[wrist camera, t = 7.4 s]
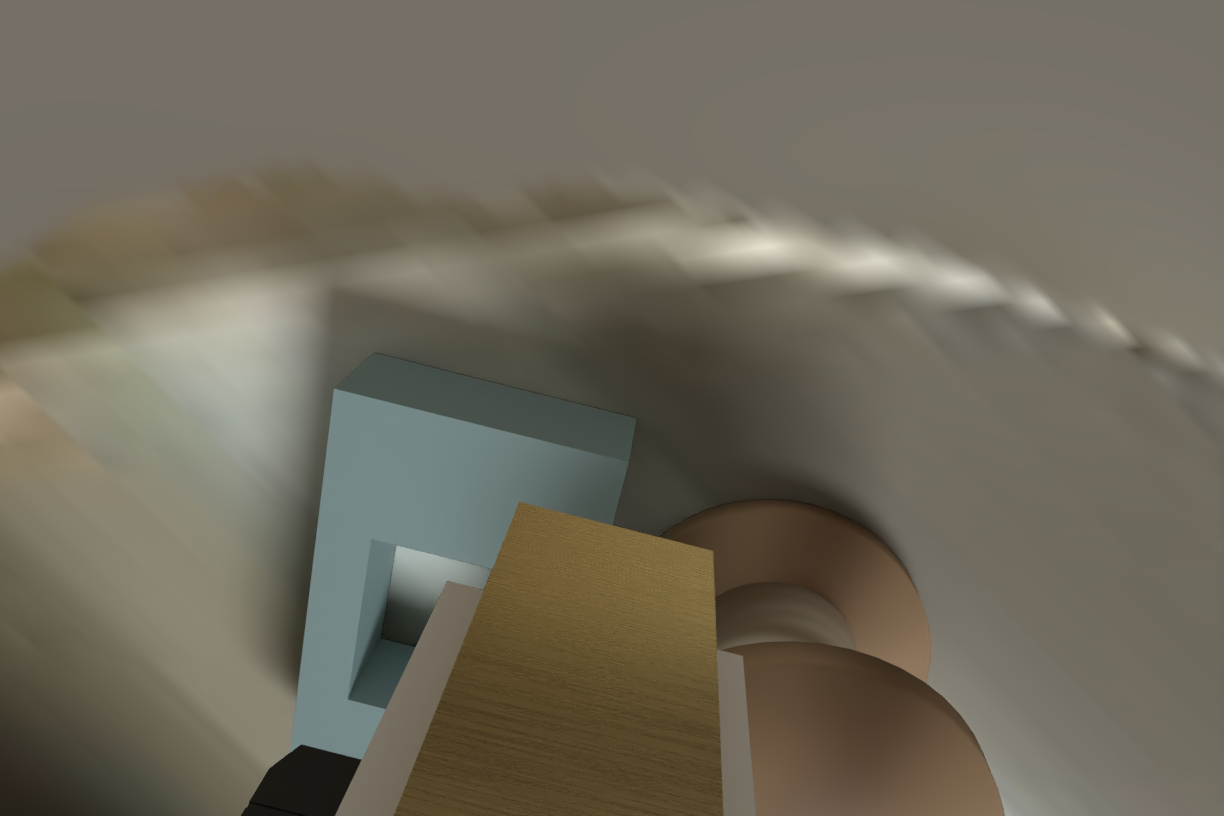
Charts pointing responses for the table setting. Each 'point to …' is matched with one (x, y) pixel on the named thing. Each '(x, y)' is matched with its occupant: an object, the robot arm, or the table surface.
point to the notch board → (428, 513)
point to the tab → (580, 682)
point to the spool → (835, 668)
